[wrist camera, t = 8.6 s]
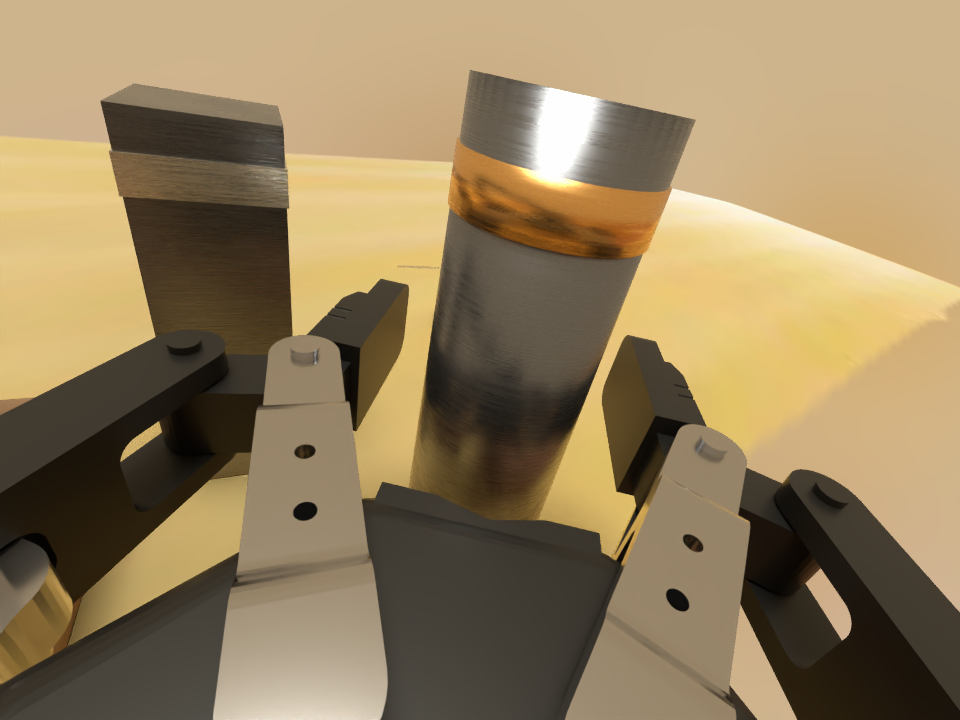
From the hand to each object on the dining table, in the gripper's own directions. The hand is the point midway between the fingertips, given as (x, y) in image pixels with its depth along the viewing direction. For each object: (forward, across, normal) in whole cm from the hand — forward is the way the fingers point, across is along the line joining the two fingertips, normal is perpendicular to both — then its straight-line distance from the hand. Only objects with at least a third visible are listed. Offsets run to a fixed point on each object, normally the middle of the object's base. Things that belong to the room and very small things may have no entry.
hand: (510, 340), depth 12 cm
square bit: (+1, -9, -8) cm, 12 cm away
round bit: (-2, 0, -8) cm, 8 cm away
